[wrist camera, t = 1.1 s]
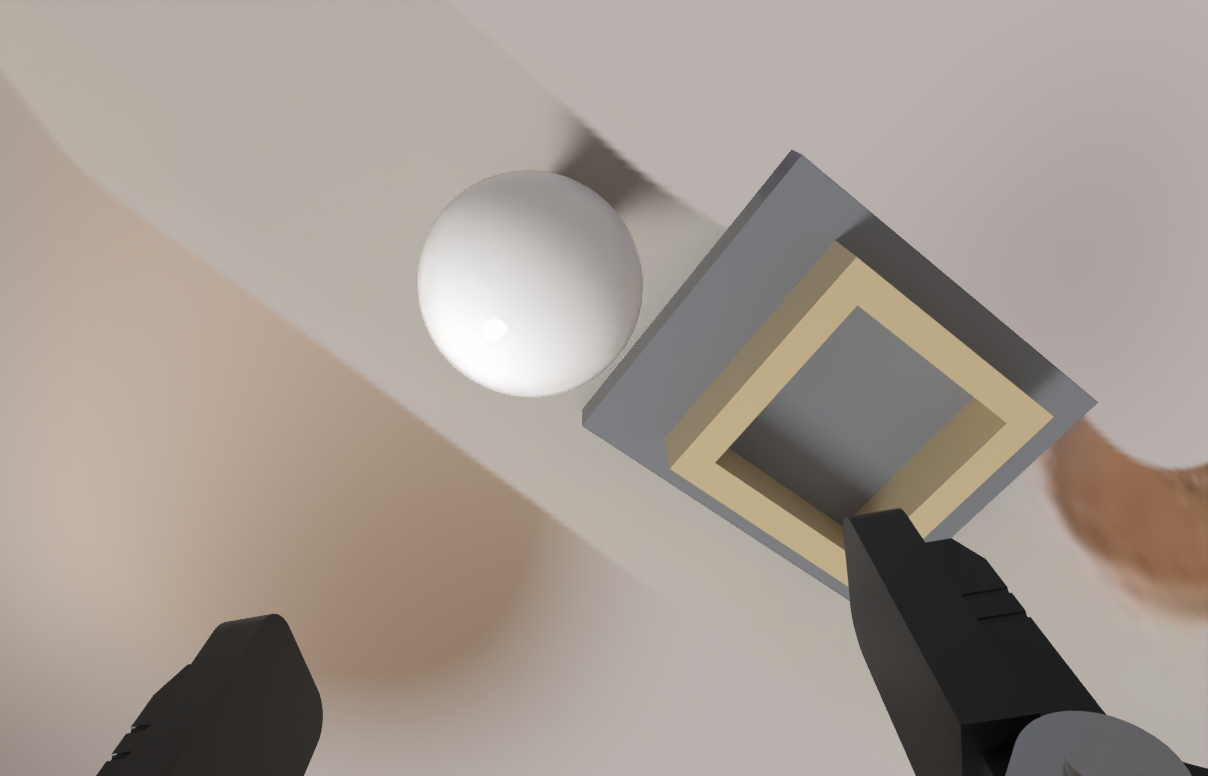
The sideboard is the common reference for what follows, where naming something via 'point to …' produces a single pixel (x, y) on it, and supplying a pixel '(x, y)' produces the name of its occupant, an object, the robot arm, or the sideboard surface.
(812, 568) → the bulb socket
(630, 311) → the lightbulb
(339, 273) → the sideboard surface
